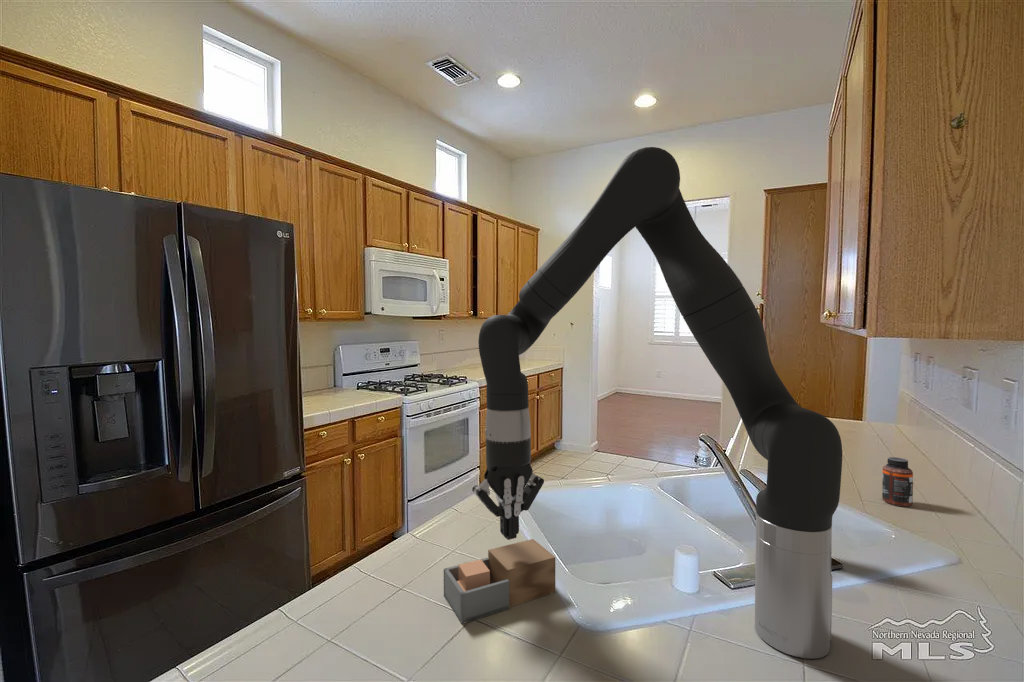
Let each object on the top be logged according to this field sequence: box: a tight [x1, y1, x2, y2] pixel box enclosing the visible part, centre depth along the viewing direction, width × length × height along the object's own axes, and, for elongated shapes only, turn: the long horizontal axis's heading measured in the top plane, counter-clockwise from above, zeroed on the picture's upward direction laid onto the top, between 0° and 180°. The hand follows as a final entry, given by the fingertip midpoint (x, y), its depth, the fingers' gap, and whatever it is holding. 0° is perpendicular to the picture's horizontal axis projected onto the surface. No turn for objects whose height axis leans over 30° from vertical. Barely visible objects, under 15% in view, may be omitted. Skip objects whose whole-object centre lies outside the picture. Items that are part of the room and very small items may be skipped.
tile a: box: [457, 559, 490, 591], centre depth 74 cm, size 4×4×2 cm
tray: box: [443, 557, 510, 625], centre depth 73 cm, size 8×8×4 cm
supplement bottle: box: [881, 456, 914, 507], centre depth 116 cm, size 6×6×11 cm
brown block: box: [487, 538, 556, 608], centre depth 77 cm, size 9×8×6 cm
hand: (509, 537), depth 76 cm, fingers closed
